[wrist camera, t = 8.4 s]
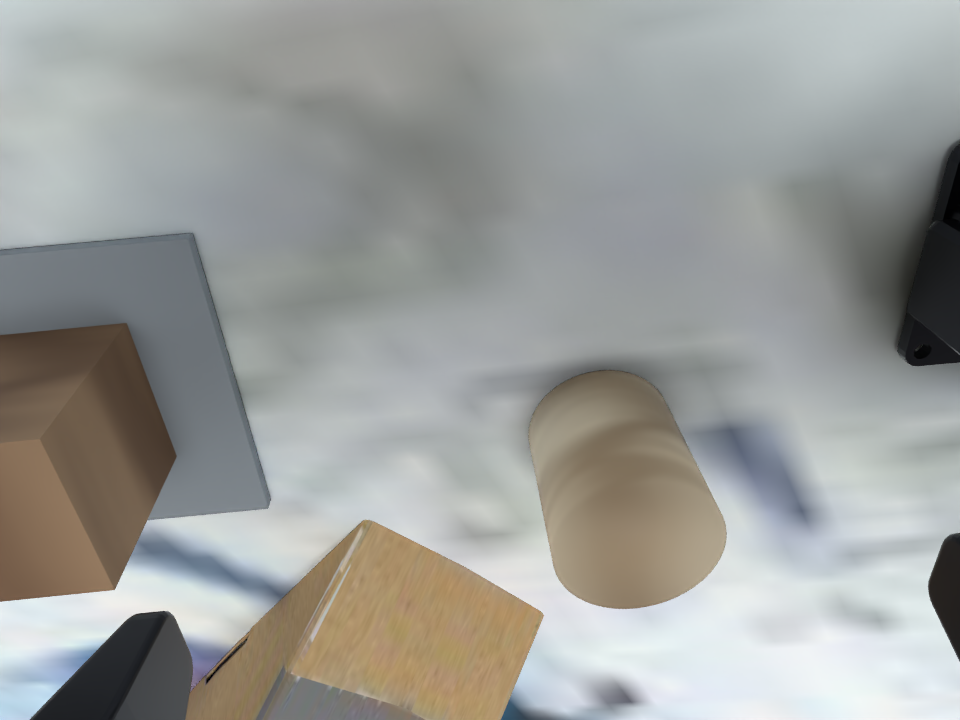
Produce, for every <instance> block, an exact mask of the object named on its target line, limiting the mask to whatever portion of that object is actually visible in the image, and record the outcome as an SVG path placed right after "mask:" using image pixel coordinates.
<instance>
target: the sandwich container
mask: <svg viewBox="0 0 960 720" xmlns="http://www.w3.org/2000/svg"><path fill="white" fill-rule="evenodd" d="M543 616H544V615H543V613H542V612H541V611H539V610H537V609H536V608H534V607H532V606H531V605H529V604H527V603H526V602H524V601H522V600H520V599H519V598H517V597H515V596H514V595H512V594H510V593H508V592H507V591H505V590H503V589H502V588H500V587H498V586H496V585H495V584H493V583H491V582H490V581H488V580H486V579H485V578H483V577H481V576H479V575H478V574H476V573H474V572H473V571H471V570H469V569H467V568H466V567H464V566H462V565H460V564H458V563H456V562H454V561H452V560H450V559H448V558H446V557H444V556H442V555H440V554H438V553H436V552H434V551H432V550H430V549H428V548H426V547H424V546H422V545H420V544H418V543H416V542H414V541H412V540H410V539H408V538H406V537H404V536H402V535H400V534H398V533H396V532H394V531H392V530H390V529H388V528H386V527H384V526H382V525H379V524H377V523H375V522H373V521H370V520H364V521H362V522H361V523H360V524H359V525H358V526H357V527H356V528H355V529H354V530H353V531H352V532H351V533H350V534H349V535H348V536H347V537H346V538H345V539H343V540H342V541H341V542H340V543H339V544H338V545H337V546H336V547H335V548H334V549H333V550H332V551H331V552H330V553H329V554H328V555H327V556H326V557H325V558H324V559H323V560H322V561H321V562H320V563H319V564H317V565H316V566H315V567H314V568H313V569H312V570H311V571H310V572H309V573H308V574H307V575H306V576H305V577H304V578H303V579H302V580H301V581H300V582H299V583H298V584H297V585H296V586H295V587H294V588H293V589H292V590H290V591H289V592H288V593H287V594H286V595H285V596H284V597H283V598H282V599H281V600H280V601H279V602H278V603H277V604H276V605H275V606H274V607H273V608H272V609H271V610H270V611H269V612H268V613H267V614H266V615H264V616H263V617H262V618H261V619H260V620H259V621H258V622H257V623H256V624H255V625H254V626H253V627H252V628H251V630H250V632H249V633H248V634H247V635H245V636H244V637H243V638H242V639H241V640H240V641H239V642H238V643H237V644H236V645H235V646H234V647H233V648H232V649H231V650H230V651H229V652H228V653H227V654H226V655H225V656H224V657H223V658H222V659H221V660H220V661H219V662H218V663H217V664H216V665H215V667H214V668H213V669H212V670H211V671H210V672H209V673H208V674H207V675H206V676H204V677H203V678H202V680H201V681H200V682H199V683H198V684H197V685H196V686H195V688H194V689H193V690H192V691H191V692H190V694H189V701H188V707H187V713H186V720H501V718H502V715H503V713H504V711H505V708H506V706H507V703H508V701H509V698H510V696H511V694H512V691H513V689H514V686H515V684H516V682H517V679H518V677H519V674H520V672H521V670H522V667H523V665H524V662H525V660H526V657H527V655H528V653H529V650H530V648H531V645H532V643H533V641H534V638H535V636H536V633H537V631H538V629H539V626H540V624H541V621H542V619H543ZM247 638H248V639H247ZM245 639H247V641H246V642H245V643H244V644H243V645H242V646H241V647H240V648H239V649H238V650H237V651H236V652H235V653H234V654H233V655H232V656H231V657H230V658H229V659H228V660H227V661H226V662H225V663H224V664H223V665H222V666H221V667H220V668H219V669H218V670H217V671H216V673H215V674H214V675H213V677H212V678H211V679H210V681H209V682H208V683H207V685H206V679H208V678H209V677H210V676H211V674H212V673H213V672H214V671H215V669H216V668H217V667H218V666H219V665H220V664H221V663H222V662H223V661H224V660H225V659H226V658H227V657H228V656H229V655H230V654H231V653H232V652H233V651H234V650H235V649H236V648H237V647H238V646H239V645H240V644H241V643H242V642H243V641H244V640H245Z"/></svg>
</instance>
